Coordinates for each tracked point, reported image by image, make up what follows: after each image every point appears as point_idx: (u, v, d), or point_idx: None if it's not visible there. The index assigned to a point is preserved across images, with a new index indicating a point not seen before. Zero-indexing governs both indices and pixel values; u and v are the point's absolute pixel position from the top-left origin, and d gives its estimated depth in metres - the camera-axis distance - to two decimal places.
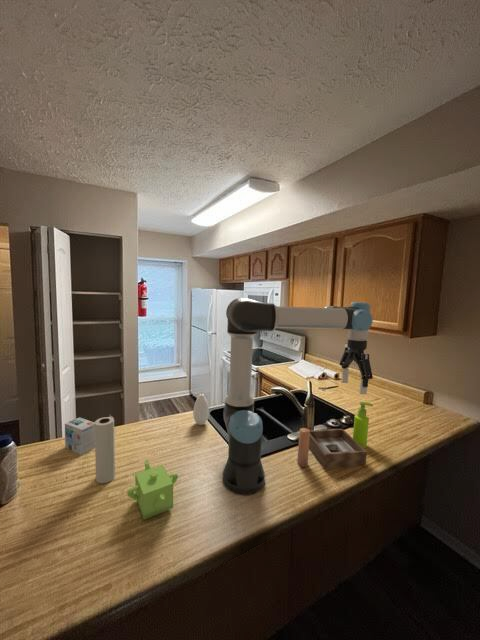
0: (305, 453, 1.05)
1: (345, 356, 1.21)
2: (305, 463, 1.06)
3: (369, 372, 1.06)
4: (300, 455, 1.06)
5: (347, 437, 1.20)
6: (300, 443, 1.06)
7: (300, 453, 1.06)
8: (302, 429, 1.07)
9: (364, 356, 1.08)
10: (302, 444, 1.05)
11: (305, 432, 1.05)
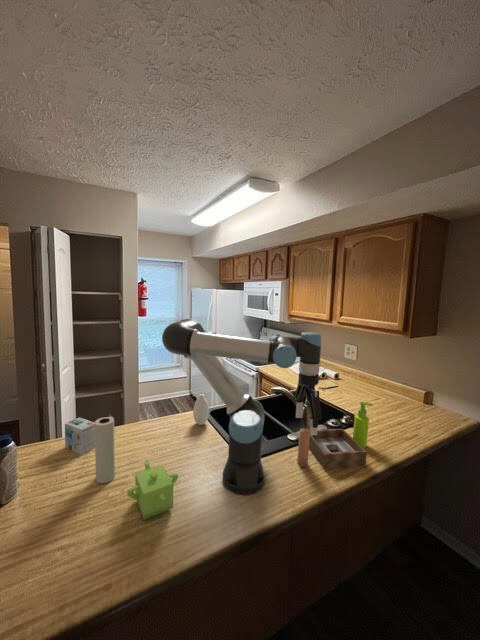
0: (305, 453, 1.05)
1: (299, 389, 1.11)
2: (305, 463, 1.06)
3: (318, 412, 0.96)
4: (300, 455, 1.06)
5: (347, 437, 1.20)
6: (300, 443, 1.06)
7: (300, 453, 1.06)
8: (302, 429, 1.07)
9: (313, 394, 0.98)
10: (302, 444, 1.05)
11: (306, 432, 1.05)
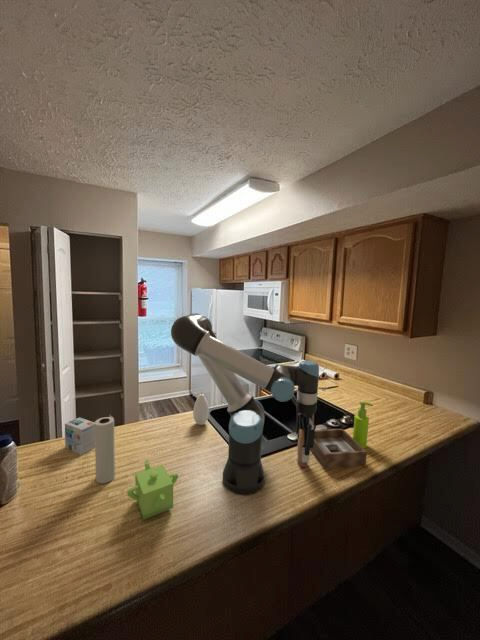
0: None
1: (298, 421, 1.11)
2: (305, 463, 1.06)
3: (311, 443, 1.01)
4: (300, 455, 1.06)
5: (347, 437, 1.20)
6: (300, 443, 1.06)
7: (300, 453, 1.06)
8: (302, 429, 1.07)
9: (310, 428, 1.00)
10: (302, 444, 1.05)
11: None
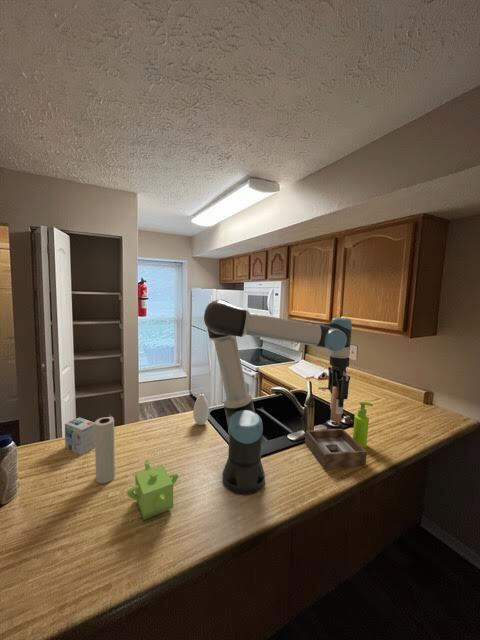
0: None
1: (331, 377, 1.16)
2: (339, 418, 1.11)
3: (345, 394, 1.06)
4: (334, 411, 1.11)
5: (347, 437, 1.20)
6: (333, 399, 1.11)
7: (334, 409, 1.11)
8: (335, 386, 1.12)
9: (345, 379, 1.05)
10: None
11: None
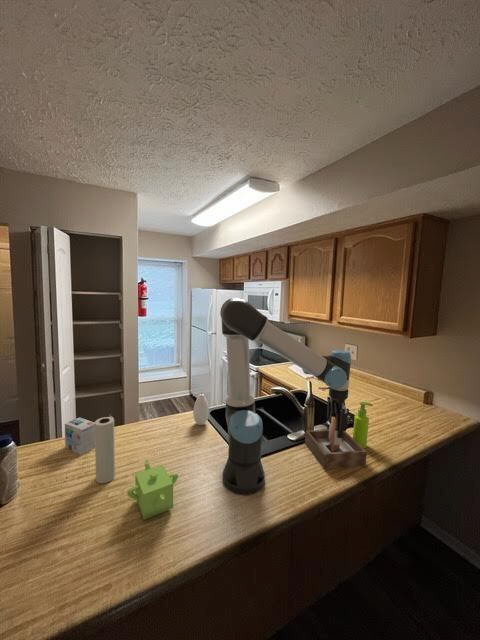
0: None
1: (330, 407, 1.18)
2: (337, 448, 1.13)
3: (344, 426, 1.08)
4: (332, 441, 1.14)
5: (347, 437, 1.20)
6: (332, 430, 1.13)
7: (332, 439, 1.14)
8: (334, 417, 1.15)
9: (343, 411, 1.07)
10: (334, 430, 1.13)
11: None
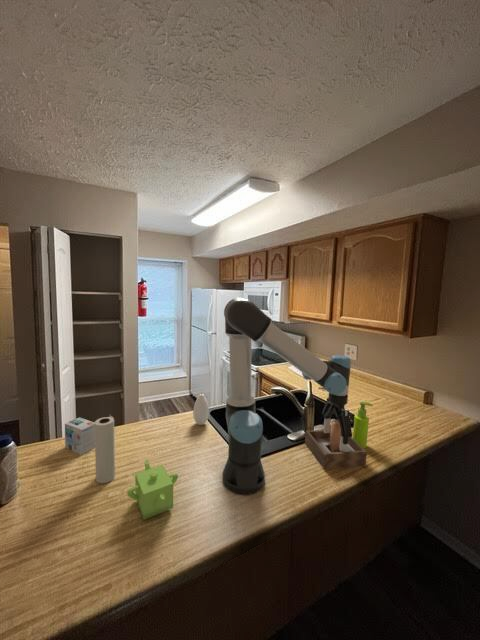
0: (336, 443, 1.13)
1: (327, 406, 1.20)
2: None
3: (349, 430, 1.05)
4: (332, 445, 1.14)
5: None
6: (332, 434, 1.14)
7: (332, 443, 1.14)
8: (334, 421, 1.15)
9: (344, 413, 1.07)
10: (334, 435, 1.13)
11: (338, 424, 1.12)
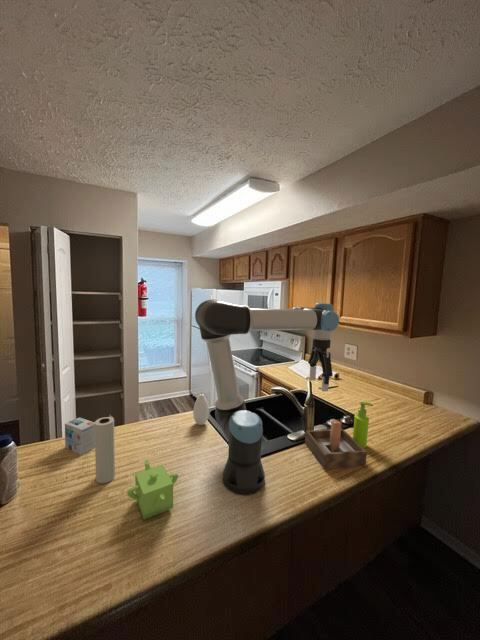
0: (336, 443, 1.13)
1: (312, 355, 1.26)
2: None
3: (329, 370, 1.11)
4: (332, 445, 1.14)
5: (347, 437, 1.20)
6: (332, 434, 1.14)
7: (332, 443, 1.14)
8: (334, 421, 1.15)
9: (325, 354, 1.13)
10: (334, 435, 1.13)
11: (338, 424, 1.12)
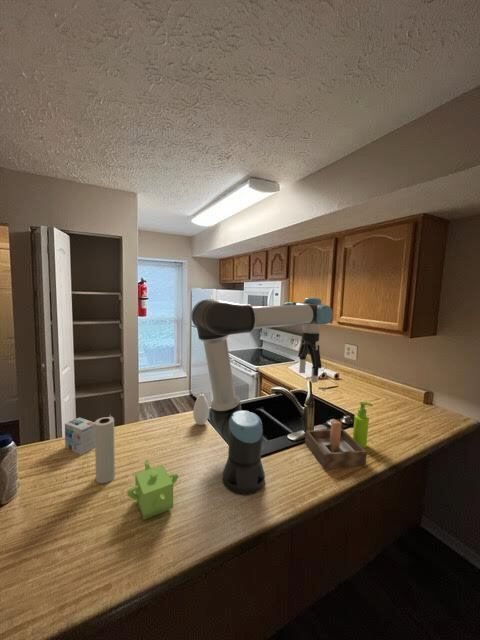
0: (336, 443, 1.13)
1: (302, 348, 1.31)
2: None
3: (318, 362, 1.16)
4: (332, 445, 1.14)
5: (347, 437, 1.20)
6: (332, 434, 1.14)
7: (332, 443, 1.14)
8: (334, 421, 1.15)
9: (314, 347, 1.18)
10: (334, 435, 1.13)
11: (338, 424, 1.12)
